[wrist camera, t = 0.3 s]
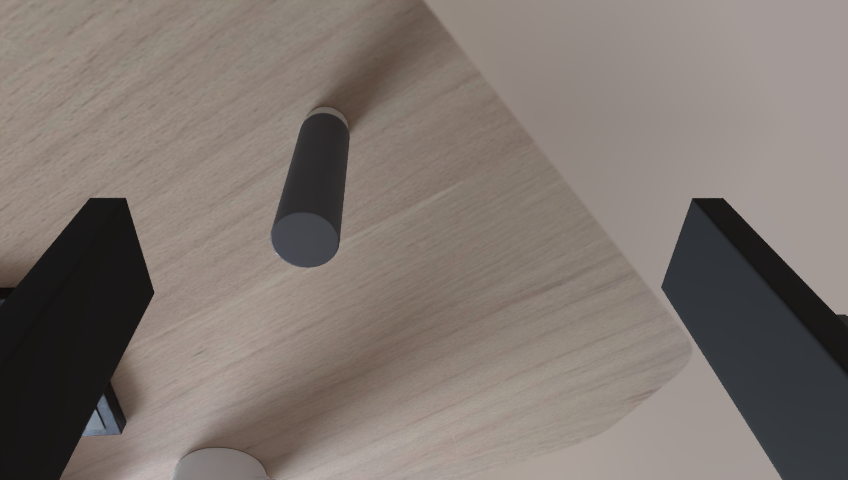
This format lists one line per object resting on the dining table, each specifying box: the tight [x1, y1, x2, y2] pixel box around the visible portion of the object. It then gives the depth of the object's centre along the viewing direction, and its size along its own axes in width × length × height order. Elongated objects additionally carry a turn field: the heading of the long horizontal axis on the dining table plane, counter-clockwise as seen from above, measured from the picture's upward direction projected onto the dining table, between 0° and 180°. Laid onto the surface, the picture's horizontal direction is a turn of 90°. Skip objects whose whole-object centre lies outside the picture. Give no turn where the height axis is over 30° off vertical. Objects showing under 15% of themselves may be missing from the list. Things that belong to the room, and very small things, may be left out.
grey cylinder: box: [271, 107, 350, 268], centre depth 28 cm, size 3×3×12 cm
